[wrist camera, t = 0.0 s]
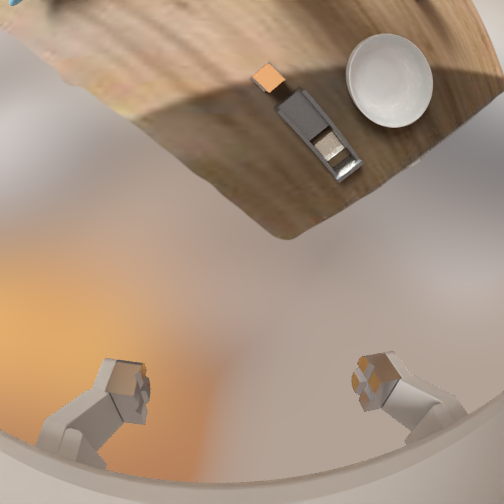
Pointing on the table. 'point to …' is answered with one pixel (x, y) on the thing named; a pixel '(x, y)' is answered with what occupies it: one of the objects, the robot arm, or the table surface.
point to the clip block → (268, 78)
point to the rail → (317, 131)
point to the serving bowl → (389, 80)
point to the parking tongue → (257, 82)
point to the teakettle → (14, 2)
